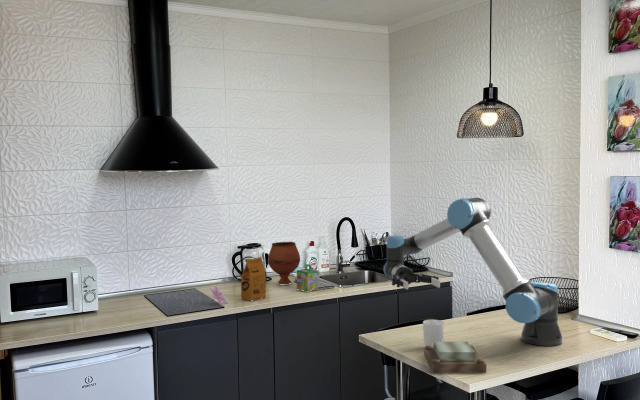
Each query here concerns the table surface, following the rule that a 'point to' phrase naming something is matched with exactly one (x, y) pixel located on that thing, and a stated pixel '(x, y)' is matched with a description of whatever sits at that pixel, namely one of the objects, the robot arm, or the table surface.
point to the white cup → (433, 332)
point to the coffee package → (253, 280)
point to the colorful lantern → (307, 279)
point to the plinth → (454, 364)
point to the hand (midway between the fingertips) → (423, 285)
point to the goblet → (284, 259)
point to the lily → (217, 295)
